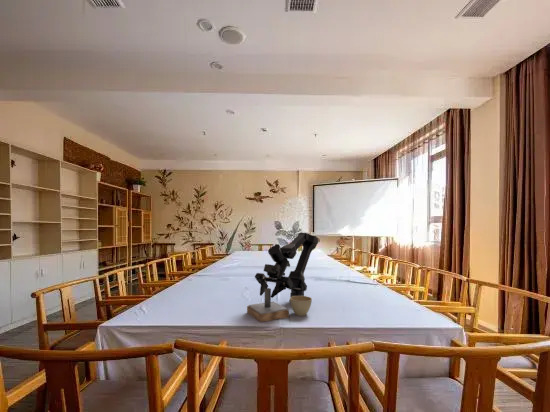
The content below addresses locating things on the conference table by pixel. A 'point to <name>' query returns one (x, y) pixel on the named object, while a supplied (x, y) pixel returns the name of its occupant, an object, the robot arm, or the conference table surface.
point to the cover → (267, 304)
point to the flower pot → (300, 304)
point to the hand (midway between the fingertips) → (265, 296)
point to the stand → (267, 315)
